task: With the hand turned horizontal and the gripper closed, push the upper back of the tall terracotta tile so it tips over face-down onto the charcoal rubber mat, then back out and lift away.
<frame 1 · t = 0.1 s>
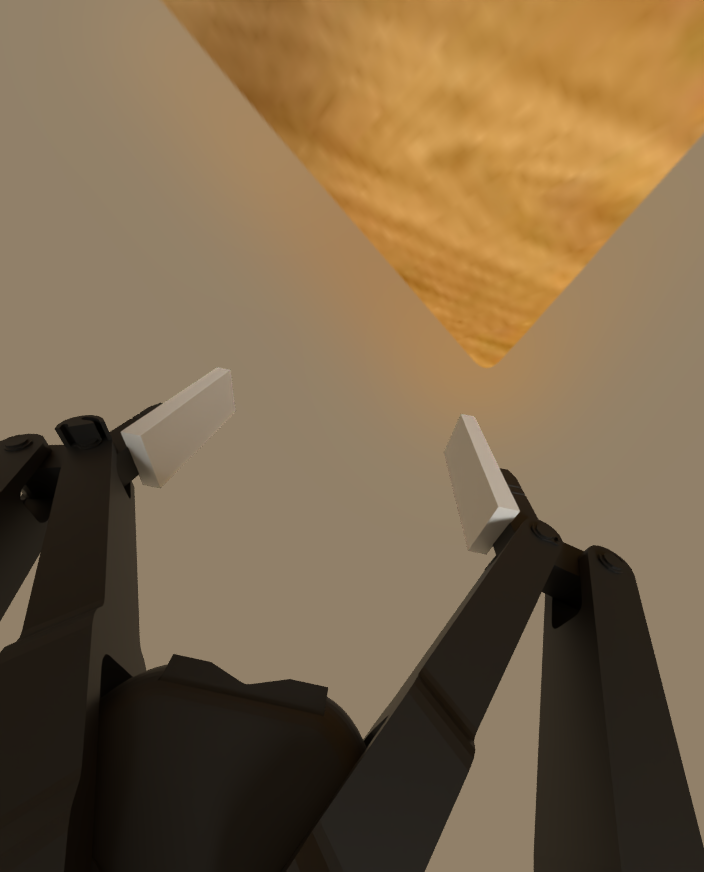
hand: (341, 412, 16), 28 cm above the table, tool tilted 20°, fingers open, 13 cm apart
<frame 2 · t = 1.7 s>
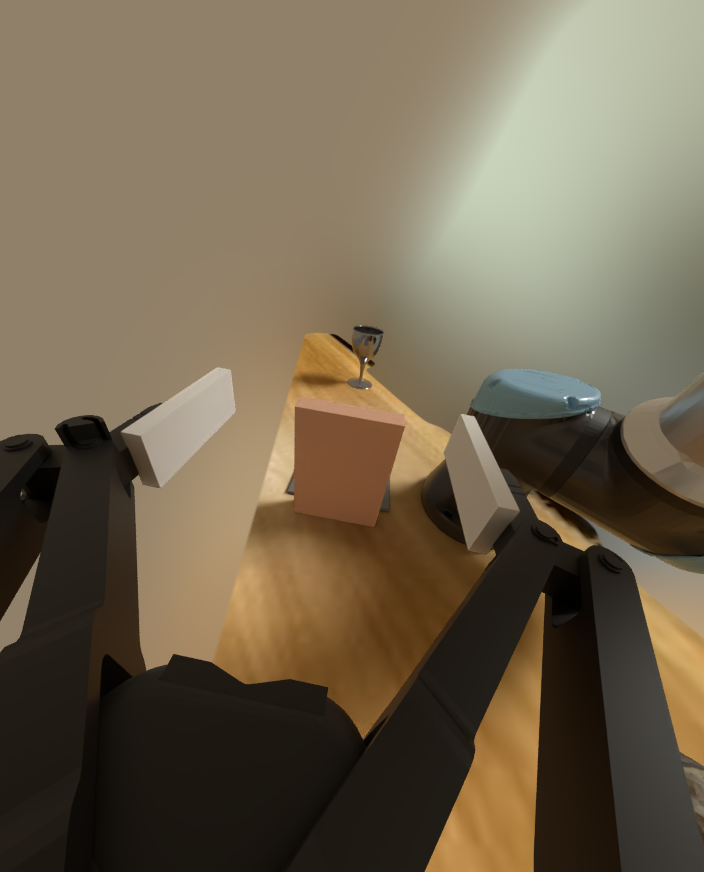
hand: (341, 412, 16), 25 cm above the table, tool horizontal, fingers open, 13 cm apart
tile: (335, 512, 41), on the table
wine glass: (359, 383, 78), on the table
fossil: (655, 843, 21), on the table
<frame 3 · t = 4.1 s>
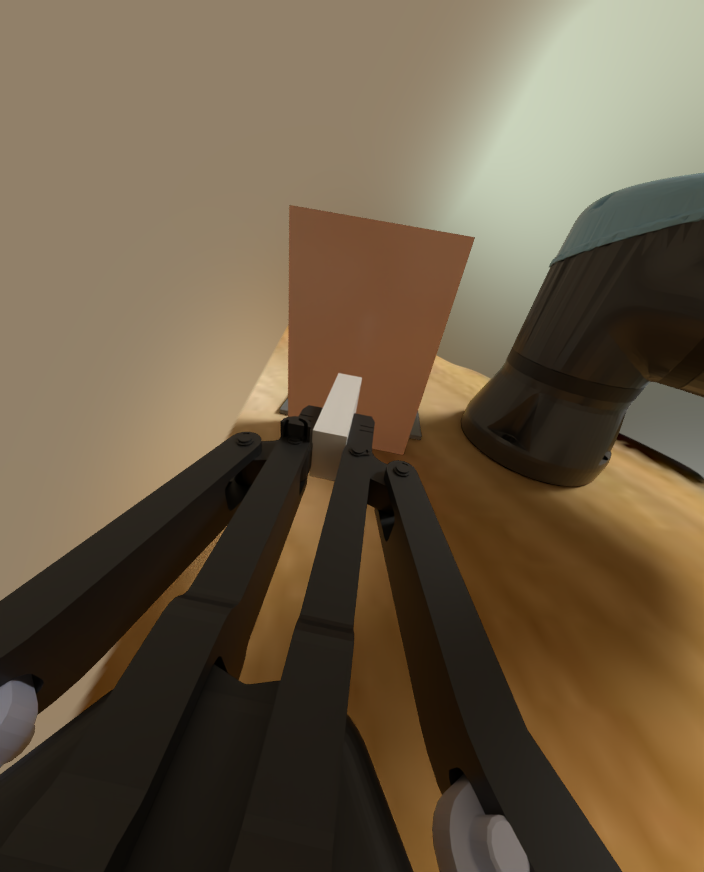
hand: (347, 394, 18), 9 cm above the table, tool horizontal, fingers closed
tile: (346, 436, 29), on the table
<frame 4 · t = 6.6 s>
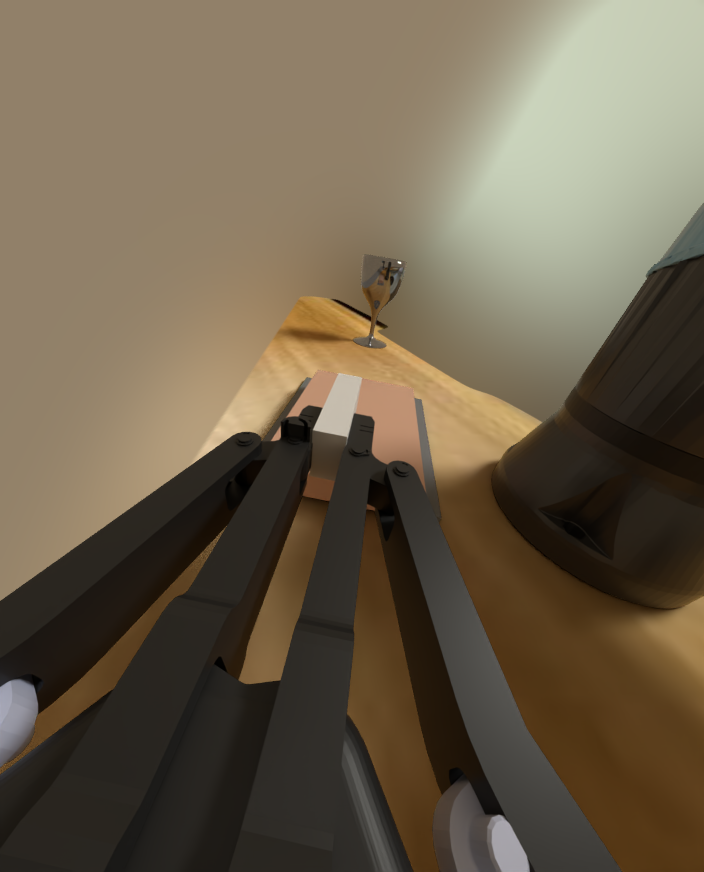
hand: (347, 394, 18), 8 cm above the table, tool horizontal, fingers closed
tile: (338, 491, 19), point 2 cm above the table, tilted 90°, touching mat
wine glass: (369, 343, 57), on the table
mat: (354, 431, 29), on the table
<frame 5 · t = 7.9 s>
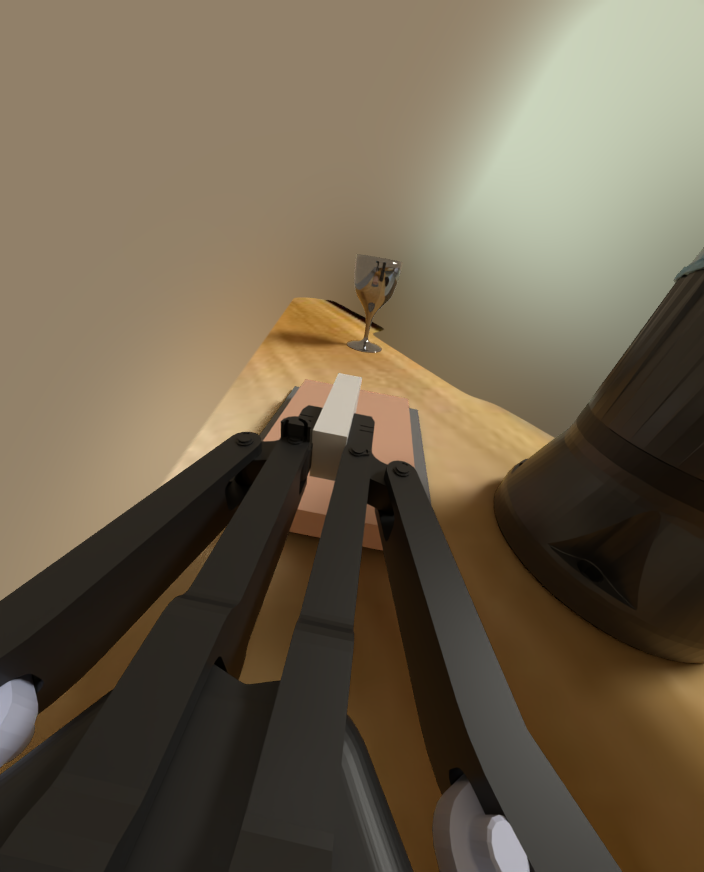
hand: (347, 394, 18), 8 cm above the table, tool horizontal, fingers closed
tile: (321, 526, 17), point 2 cm above the table, tilted 90°, touching mat
wine glass: (364, 347, 55), on the table
mat: (343, 447, 27), on the table
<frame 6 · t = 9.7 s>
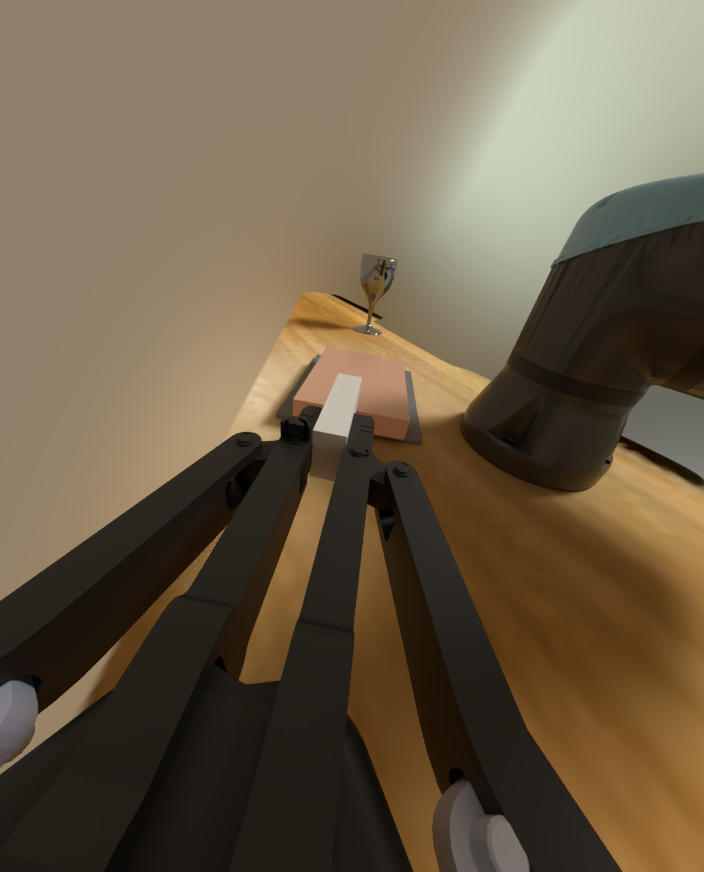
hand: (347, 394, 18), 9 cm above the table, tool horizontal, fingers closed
tile: (349, 419, 28), point 2 cm above the table, tilted 90°, touching mat
wine glass: (367, 331, 66), on the table
mat: (357, 391, 38), on the table
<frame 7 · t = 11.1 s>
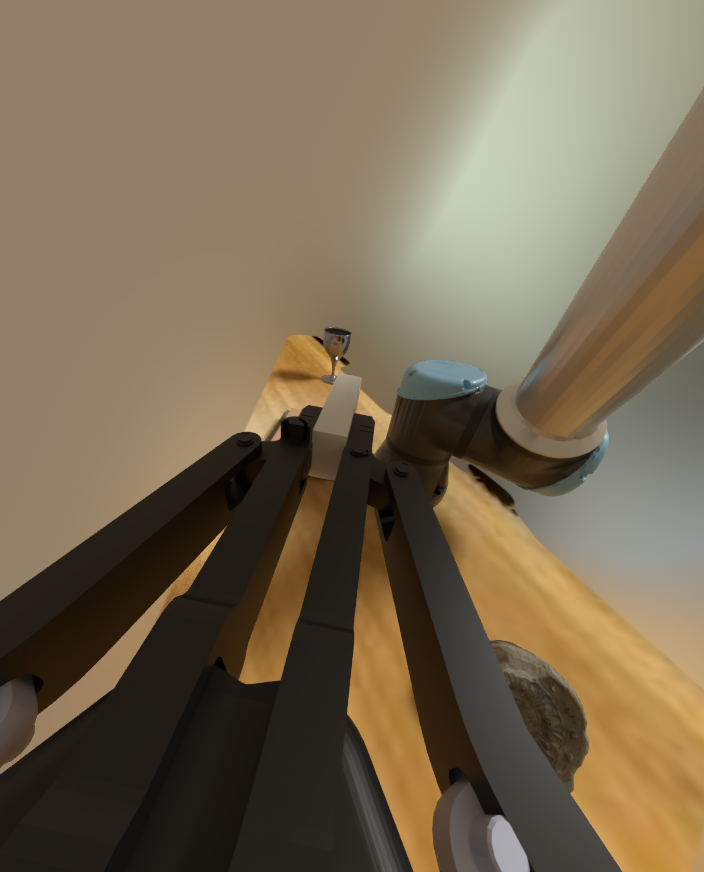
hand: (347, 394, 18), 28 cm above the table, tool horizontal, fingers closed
wine glass: (332, 380, 86), on the table
fossil: (494, 712, 27), on the table
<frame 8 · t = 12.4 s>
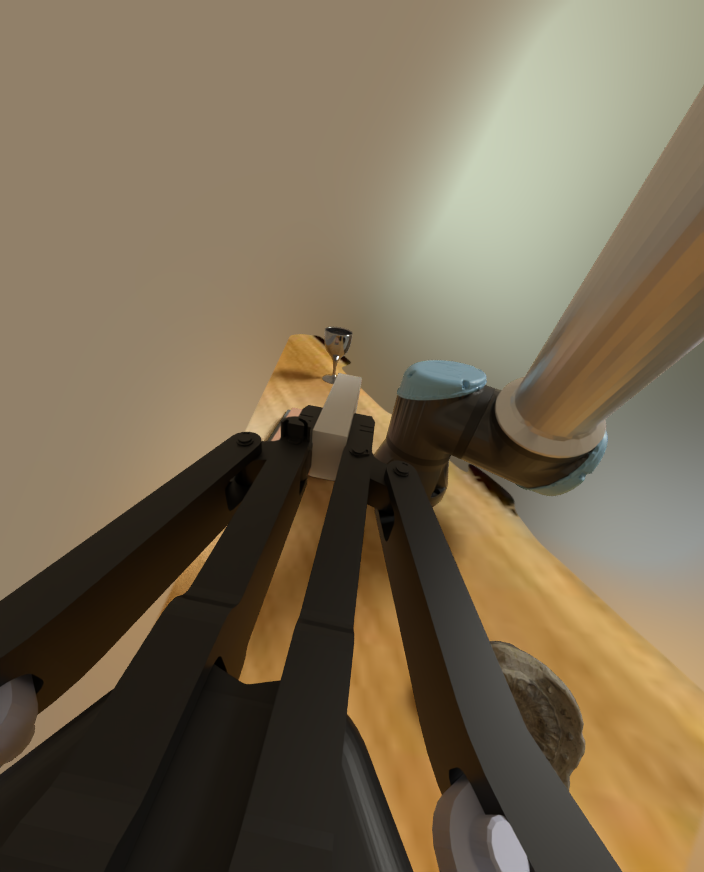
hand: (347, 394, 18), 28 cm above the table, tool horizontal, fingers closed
wine glass: (333, 379, 87), on the table
fossil: (491, 712, 27), on the table
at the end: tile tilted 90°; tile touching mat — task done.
